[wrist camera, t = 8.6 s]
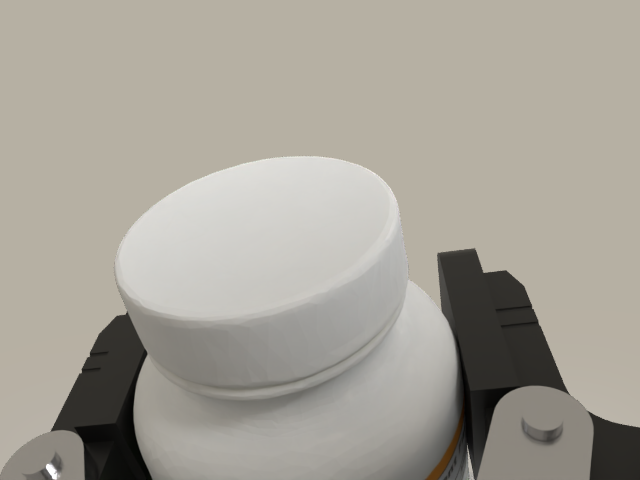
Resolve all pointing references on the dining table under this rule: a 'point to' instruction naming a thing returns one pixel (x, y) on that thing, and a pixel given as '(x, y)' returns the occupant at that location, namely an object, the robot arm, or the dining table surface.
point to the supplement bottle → (288, 332)
